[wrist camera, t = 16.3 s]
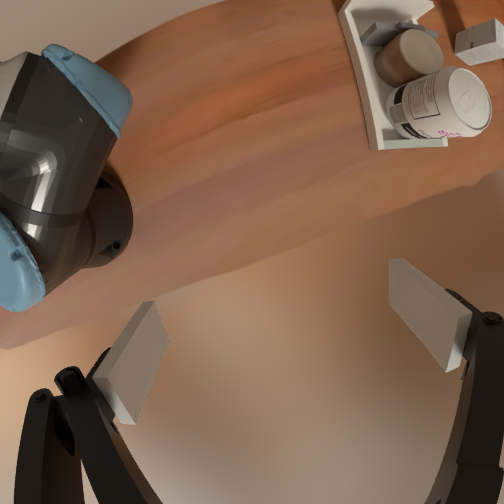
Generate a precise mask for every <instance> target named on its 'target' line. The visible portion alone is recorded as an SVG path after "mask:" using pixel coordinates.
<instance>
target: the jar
mask: <svg viewBox="0 0 504 504" xmlns="http://www.w3.org/2000/svg"><path fill="white" fill-rule="evenodd" d="M443 65H444V58H443V54H442V51H441V49H440V47H439V45H438V44H437V43H436V41H435V40H434V39H433V38H432V37H431V36H430V35H428V34H427V33H425V32H423V31H421V30H418V29H410V30H406V31H403V32H402V33H401V34H399V35H398V36H397V37H395V38H394V39H393V40H391V41H390V42H389V43H387V44H386V45H385V46H384V47H382V48H381V49H380V50H378V51H377V52H376V54H375V56H374V67H375V70H376V72H377V74H378V75H379V77H380V78H381V79H382V80H383V81H384V82H385V83H387V84H388V85H390V86H392V87H394V88H398V87H400V86H402V85H405V84H407V83H409V82H412V81H414V80H416V79H419V78H421V77H423V76H426V75H428V74H431V73H433V72H436V71H438V70H441V69H442V68H443Z"/></svg>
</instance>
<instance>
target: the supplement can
mask: <svg viewBox="0 0 504 504" xmlns="http://www.w3.org/2000/svg"><path fill="white" fill-rule="evenodd" d="M386 107H387V115H388V118H389V120H390V123H391V124H392V126H393V127H394V129H395V130H396V131H397V132H398V133H400V134H401V135H402V136H403V137H406V138H409V139H427V138H444V137H474V136H476V135H478V134H479V133H481V132H482V130H483V129H485V128H487V126H488V124H489V123H490V121H491V115H492V108H491V101H490V98H489V95H488V92H487V90H486V88H485V86H484V85H483V83H482V81H481V80H480V79H479V78H478V77H477V76H476V75H475V74H474V73H472V72H471V71H469V70H466V69H462V68H459V67H454V66H449V67H446V68H444V69H441V70H438V71H436V72H433V73H431V74H428V75H426V76H423V77H421V78H419V79H416V80H414V81H412V82H409V83H407V84H405V85H402V86H400V87H398V88H396V89H393V91H392V92H391V93H390V94H389V96H388V99H387V103H386Z"/></svg>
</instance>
